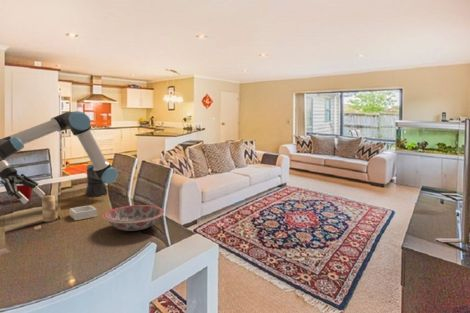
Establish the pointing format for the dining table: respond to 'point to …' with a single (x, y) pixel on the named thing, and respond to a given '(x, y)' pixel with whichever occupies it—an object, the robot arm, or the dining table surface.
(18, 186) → the plastic cup
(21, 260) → the dining table surface
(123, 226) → the ceramic bowl
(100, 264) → the dining table surface
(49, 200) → the oak rail post
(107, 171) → the robot arm
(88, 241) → the dining table surface
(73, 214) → the square tray
